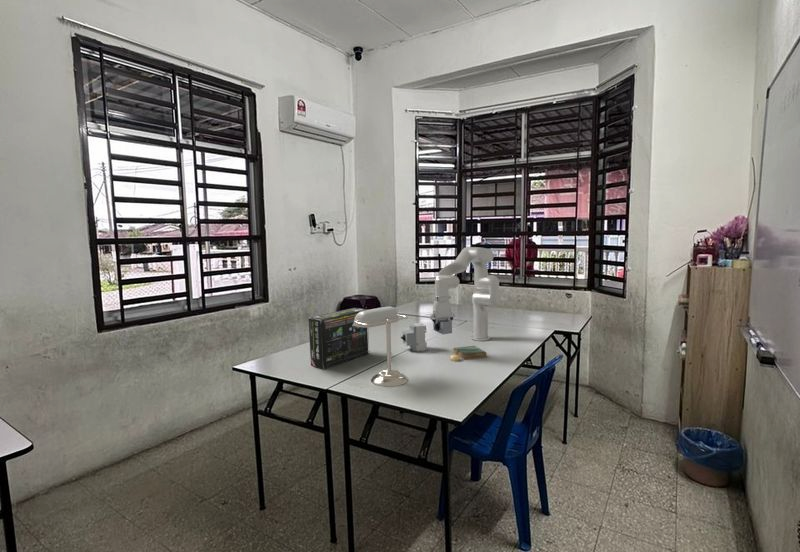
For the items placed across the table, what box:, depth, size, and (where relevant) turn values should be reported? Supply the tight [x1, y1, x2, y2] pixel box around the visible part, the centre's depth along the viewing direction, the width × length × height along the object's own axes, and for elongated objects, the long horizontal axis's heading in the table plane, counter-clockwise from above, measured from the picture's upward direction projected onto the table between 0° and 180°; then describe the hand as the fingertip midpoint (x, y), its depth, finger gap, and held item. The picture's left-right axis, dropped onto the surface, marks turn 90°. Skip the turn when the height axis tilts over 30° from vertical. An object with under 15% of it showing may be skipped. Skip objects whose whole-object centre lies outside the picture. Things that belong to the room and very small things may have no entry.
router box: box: [307, 307, 370, 370], centre depth 233 cm, size 36×11×27 cm, turn 141°
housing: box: [432, 317, 453, 335], centre depth 239 cm, size 11×6×7 cm, turn 23°
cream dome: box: [449, 354, 460, 362], centre depth 230 cm, size 5×5×2 cm
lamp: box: [353, 306, 409, 387], centre depth 202 cm, size 26×24×34 cm
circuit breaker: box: [400, 322, 428, 352], centre depth 251 cm, size 8×14×15 cm, turn 108°
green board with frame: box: [452, 345, 487, 360], centre depth 240 cm, size 14×14×3 cm
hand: (442, 329), depth 239 cm, fingers closed on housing, 6 cm apart
